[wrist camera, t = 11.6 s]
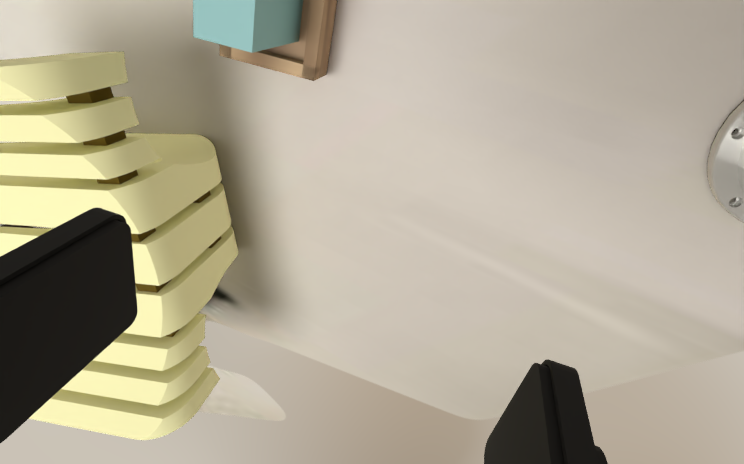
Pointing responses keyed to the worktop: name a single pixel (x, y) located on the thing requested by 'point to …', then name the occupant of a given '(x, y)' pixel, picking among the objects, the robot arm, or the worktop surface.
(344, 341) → the worktop surface
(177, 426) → the slatted curved stool
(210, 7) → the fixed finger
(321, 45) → the divided wooden tray
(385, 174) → the worktop surface
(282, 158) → the worktop surface
